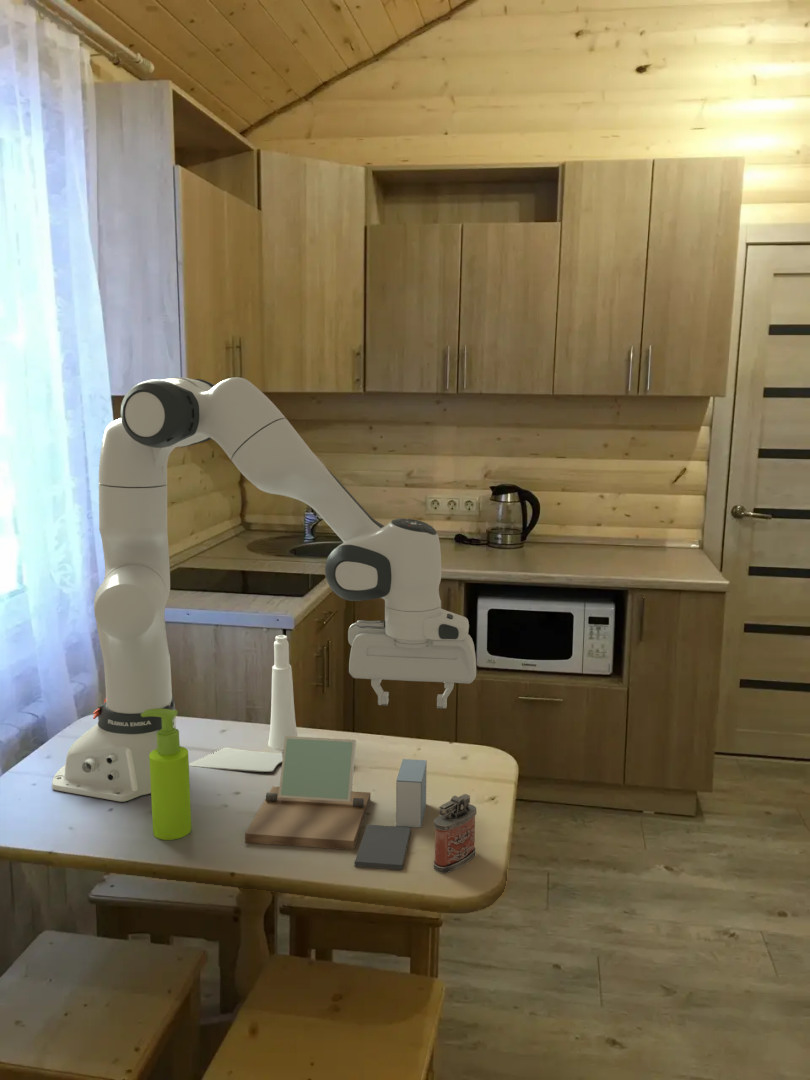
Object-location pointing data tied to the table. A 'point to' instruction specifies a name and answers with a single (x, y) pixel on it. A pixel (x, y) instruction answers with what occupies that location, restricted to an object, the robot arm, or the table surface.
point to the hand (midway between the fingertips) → (412, 705)
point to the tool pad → (383, 847)
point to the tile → (317, 769)
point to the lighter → (454, 834)
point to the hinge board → (308, 821)
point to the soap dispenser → (169, 780)
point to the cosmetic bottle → (281, 696)
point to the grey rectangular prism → (411, 793)
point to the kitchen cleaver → (240, 760)
